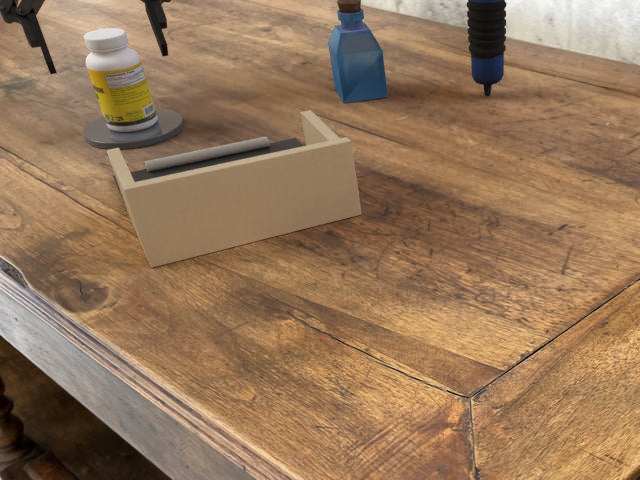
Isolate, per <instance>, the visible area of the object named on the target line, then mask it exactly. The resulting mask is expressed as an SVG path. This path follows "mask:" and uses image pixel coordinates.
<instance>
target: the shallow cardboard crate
mask: <svg viewBox="0 0 640 480" xmlns="http://www.w3.org/2000/svg"><path fill="white" fill-rule="evenodd" d="M300 117H301V123H302V130H303V134H304V140H305V145H303V144H302V143H301V142H300V140H299V139H298V138H297V137H293V138H288V139H283V140H282V139H281V140H278V141H273V142H270V140H269V137H268V136H262V137H261V136H260V137H256V138H251V139H248V140H242V141H237V142H231V143H227V144H222V145H217V146H212V147H207V148H203V149H198V150H194V151H188V152H184V153H177V154H174V155H173V154H172V155H168V156H163V157H160V158H159V157H158V158H154V159H149V160H145V161H144V166H145V168H144V169H139V170H134V171H130V169H129V167H128V165H127V162H126V160H125V158H124V156H123V153H122V152H121V149H119V148H115V149H106V153H107V156H108V159H109V162H110V165H111V168H112V170H113V174H114V175H113V179H114V182H115V185H116V187H117V190H118V192H119V194H120V198H121V199H122V202H123V204H124V206H125V209H126V212H127V214H128V216H129V219H130V221H131V223H132V226H133V228H134V231H135V233H136V235H137V238H138V240H139V243H140V245H141V248H142V251H143V252H144V255H145V258H146V259H147V262H148V264H149V267H150V269H153V268H156V267H161V266H164V265H169V264H172V263H176V262H181V261H184V260H189V259H192V258H195V257H199V256H200V257H201V256H203V255H207V254H211V253H215V252H219V251H224V250H228V249H231V248H234V247H235V248H236V247H239V246H244V245H247V244H251V243H255V242H259V241H262V240H263V241H264V240H267V239H271V238H274V237H278V236H283V235H287V234H290V233H291V234H292V233H294V232H295V233H296V232H299V231H302V230H306V229H310V228H314V227H318V226H323V225H327V224H329V223H334V222H338V221H341V220H345V219H349V218H353V217H358V216H361V215H363V214H362V206H361V199H360V192H359V186H358V179H357V171H356V165H355V158H354V151H353V144H352V140H351V139H350V138H349V137H347V136H346V137H345V136H344V137H339V135H337V134H336V132H334V131H333V130H332V129H331V128H330V127H329V126H328V125H327V124H326V123H325V122H324V121H323V120H322V119H320V118H319V117H318V115H316V113H314V111H312V110H311V109H309V110H304V111H300Z"/></svg>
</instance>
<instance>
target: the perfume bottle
mask: <svg viewBox="0 0 640 480" xmlns="http://www.w3.org/2000/svg"><path fill="white" fill-rule="evenodd" d="M336 4H337V6H338V9H337V11H336V13H337V18H338V21H339V22H340V24H337V25H334V26H333V29H332V32H331V35H330V37H329V40H328V43H327V45H328V53H329V59H330V65H331V71H332V79H333V85H334V91H336V93H337V95H338V97H339V98H340V100H341V102H342V103H343V104H348V103H354V102H361V101H363V102H364V101H370V100H376V99H385V98H388V97H389V95H388V87H387V78H386V77H387V76H386V70H385V69H386V67H385V60H384V51H383V49H382V47H381V45H380V44H379V42H378V40H377V38H376V37H375V35H374V33H373V32H372V30H371V28H369V26H368V25H367V24H366V23H365V22H364V19H365V12H364V9H363V8H362V0H336Z"/></svg>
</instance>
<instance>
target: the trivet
mask: <svg viewBox="0 0 640 480" xmlns="http://www.w3.org/2000/svg"><path fill="white" fill-rule="evenodd" d="M155 110H156V113H157V121H156V123H155V124H154V125H152V126H151V127H149V128H146V129H143V130H139V131H133V132H117V131H113V130H111V129H110V128H108V126H107V125H106V122H105V119H104V117H103V116H100V117H98V118H96V119H95V120H92V121H90V122H89V123H88V124H87V125H86V126H85V127H84V128H83V129H82V136H83V139H84V141H85V142H86V144H88V145H90V146H91V147H93V148H97V149H104V150H109V149H115V148H119V149H120V150H130V149H137V148H144V147H149V146H152V145H156V144H158V143H162V142H164V141H167V140H169V139H171V138H173V137H176V136H177V135H178V134H179V133H181V131H182V130H183V129H184V127H185V122H184V118H183V116H182V115H181V113H179V112H178V111H175V110H172V109H168V108H162V107H161V108H160V107H155Z"/></svg>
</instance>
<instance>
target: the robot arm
mask: <svg viewBox="0 0 640 480" xmlns="http://www.w3.org/2000/svg"><path fill="white" fill-rule="evenodd" d="M45 1H46V0H20V1H19V0H0V16H1V17H2V19H3V22H4V23H6V24H9V25H11V24H14V23H16V24H18V25H20V26H21V27H22V30H23V33H24V36H25V38H26V41H27V44H28V46H29V47H31V49H34V48H40V51H41V53H42V56H43V58H44V61H45V63H46V66H47V69H48V71H49V74H50V75H55V74H56V75H57V74H58V72H57V69H56V67H55V64H54V61H53V58H52V55H51V53H50V50H49V47H48V45H47V42H46V40H45V36H44V33H43V31H42V28H41V25H40V22H39V19H38V17H37V15H38V14H39V12H40V10H41V8H42V6H43V5H44V3H45ZM140 1H141V2H142V3H143V4H144V8H145V12H146V16H147V18H148V21H149V23H150V26H151V29H152V32H153V34H154V38H155V40H156V43H157V45H158V48H159V50H160V53H161V56H162V57H168V56H169V49H168V48H169V47H168V42H167V40H166V37H165V35H164V32H163V30H164V29H165V30H166V29H168V19H167V16H166V13H165V10H164V7H163V4H165V3H171V2H172V0H140Z"/></svg>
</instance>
